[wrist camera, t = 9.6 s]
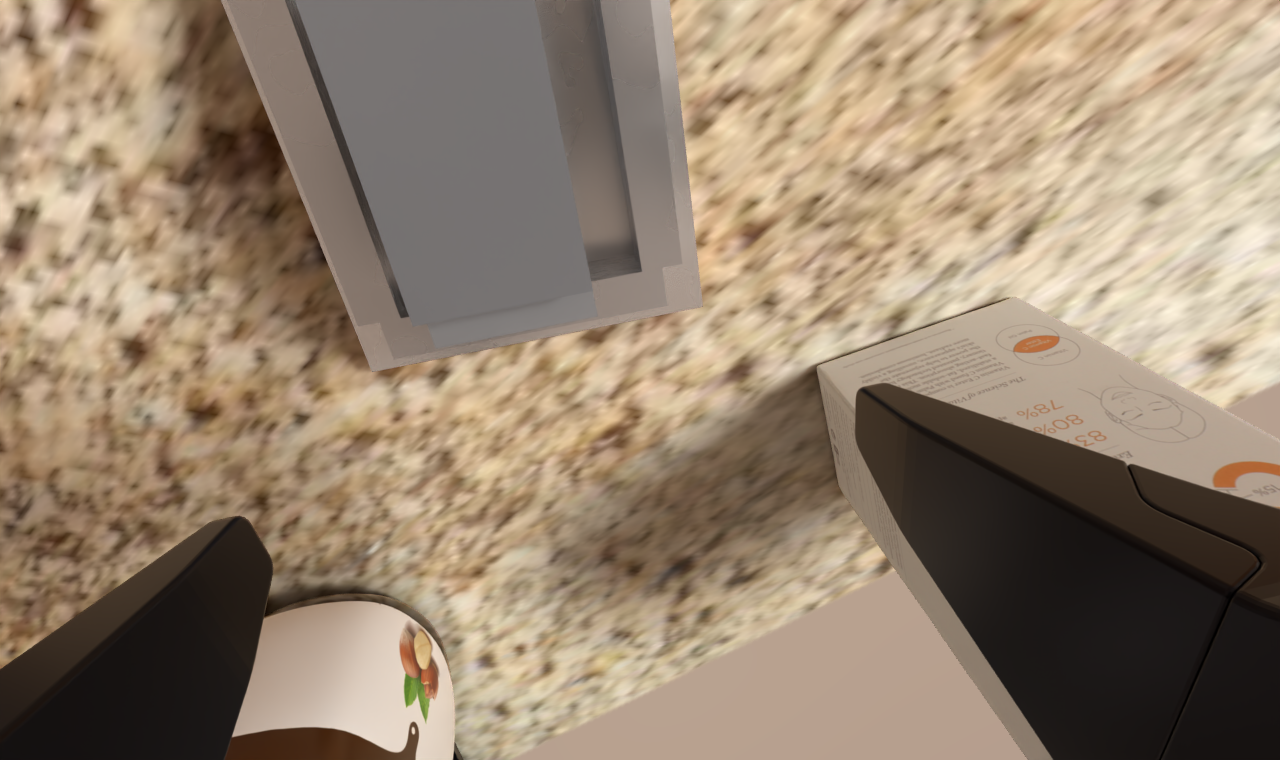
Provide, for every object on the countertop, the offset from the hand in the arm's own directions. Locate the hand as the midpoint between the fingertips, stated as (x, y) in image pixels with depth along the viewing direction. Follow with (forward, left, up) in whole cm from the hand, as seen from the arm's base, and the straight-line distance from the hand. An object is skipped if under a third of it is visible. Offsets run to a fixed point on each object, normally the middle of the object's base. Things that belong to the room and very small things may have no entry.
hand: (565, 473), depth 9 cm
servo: (-1, +4, -12) cm, 12 cm away
